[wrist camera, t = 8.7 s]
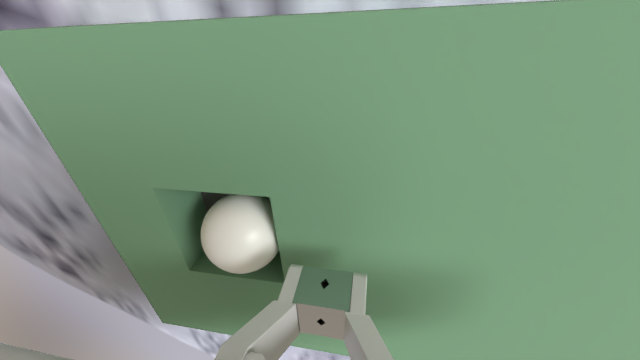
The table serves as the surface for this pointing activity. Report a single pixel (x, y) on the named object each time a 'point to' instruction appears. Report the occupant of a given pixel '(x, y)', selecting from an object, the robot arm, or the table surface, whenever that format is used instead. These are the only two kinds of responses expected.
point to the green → (369, 164)
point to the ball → (240, 233)
